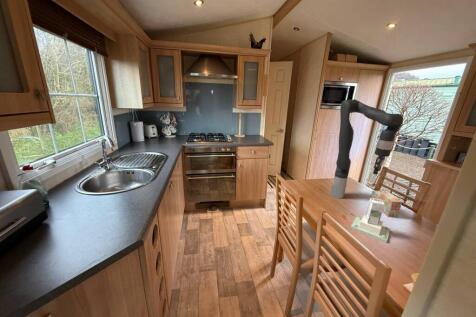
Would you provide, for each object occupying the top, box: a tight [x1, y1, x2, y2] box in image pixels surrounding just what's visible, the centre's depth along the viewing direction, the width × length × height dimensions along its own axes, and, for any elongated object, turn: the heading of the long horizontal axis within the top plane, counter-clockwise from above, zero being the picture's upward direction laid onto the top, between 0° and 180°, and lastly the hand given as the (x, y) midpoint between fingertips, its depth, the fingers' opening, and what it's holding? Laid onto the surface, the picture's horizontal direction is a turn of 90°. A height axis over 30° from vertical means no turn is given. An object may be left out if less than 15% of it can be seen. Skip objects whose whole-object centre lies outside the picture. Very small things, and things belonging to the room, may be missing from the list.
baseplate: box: [350, 214, 391, 243], centre depth 116 cm, size 18×14×6 cm
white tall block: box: [365, 197, 384, 225], centre depth 112 cm, size 6×6×14 cm
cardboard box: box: [370, 190, 403, 218], centre depth 137 cm, size 21×6×12 cm, turn 175°
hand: (376, 172), depth 120 cm, fingers open, 8 cm apart
